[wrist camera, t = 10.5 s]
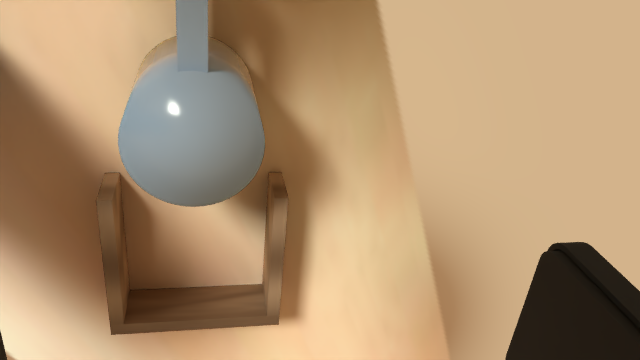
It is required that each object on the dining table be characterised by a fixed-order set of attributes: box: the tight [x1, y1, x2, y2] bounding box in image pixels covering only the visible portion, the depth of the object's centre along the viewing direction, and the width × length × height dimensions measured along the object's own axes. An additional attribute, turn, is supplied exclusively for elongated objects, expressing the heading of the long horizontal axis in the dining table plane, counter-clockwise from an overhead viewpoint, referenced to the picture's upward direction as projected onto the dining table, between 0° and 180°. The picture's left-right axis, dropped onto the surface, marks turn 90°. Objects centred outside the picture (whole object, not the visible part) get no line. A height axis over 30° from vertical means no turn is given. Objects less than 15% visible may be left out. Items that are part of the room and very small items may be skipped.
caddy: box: [96, 173, 288, 335], centre depth 42 cm, size 12×13×4 cm
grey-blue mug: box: [118, 0, 265, 207], centre depth 33 cm, size 14×8×9 cm, turn 175°
